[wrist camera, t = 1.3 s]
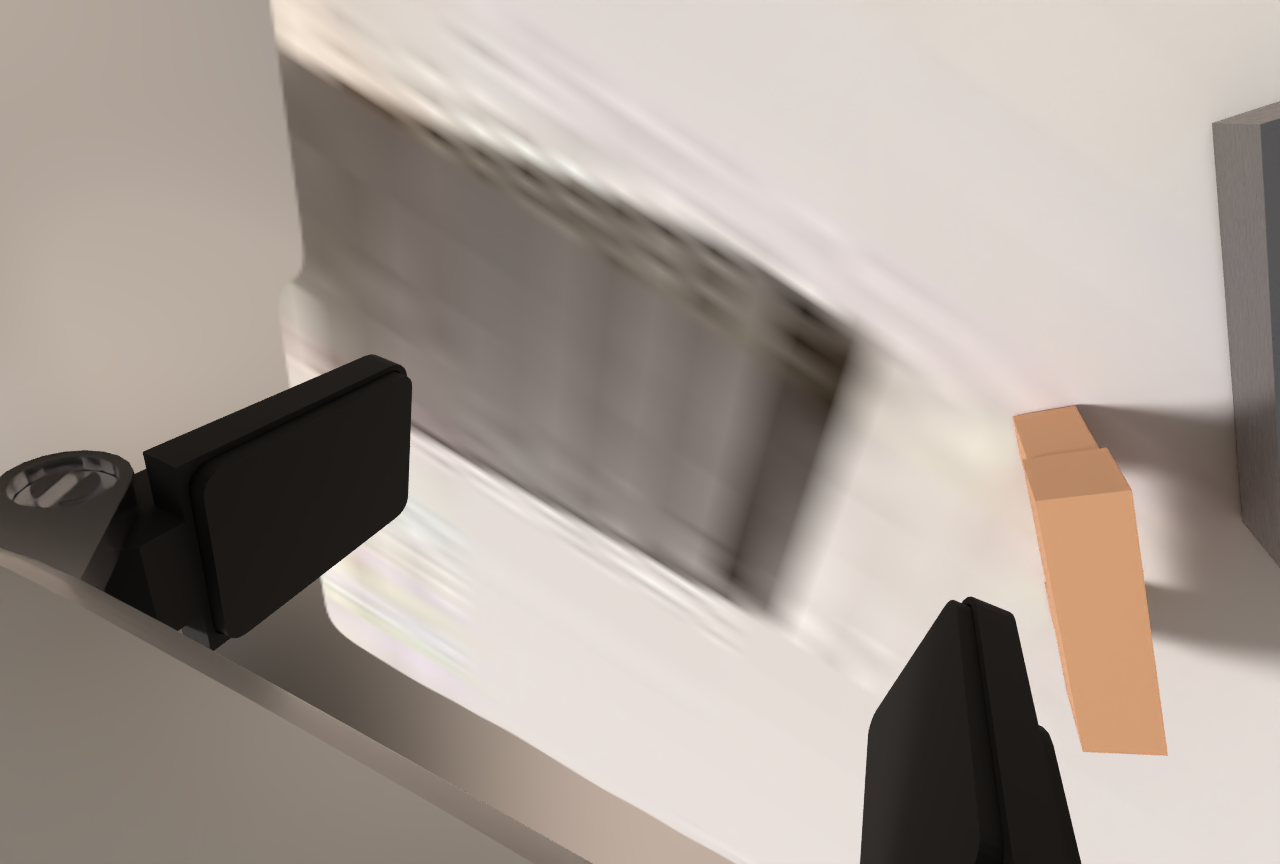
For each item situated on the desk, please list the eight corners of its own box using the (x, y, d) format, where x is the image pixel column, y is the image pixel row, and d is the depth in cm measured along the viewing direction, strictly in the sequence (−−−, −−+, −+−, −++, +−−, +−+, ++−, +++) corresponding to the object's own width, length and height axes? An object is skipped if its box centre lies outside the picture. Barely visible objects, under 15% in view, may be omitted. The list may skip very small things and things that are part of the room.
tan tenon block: (1079, 400, 30) (1131, 489, 23) (1114, 620, 34) (1167, 755, 27) (1007, 413, 31) (1035, 500, 24) (1048, 622, 35) (1082, 751, 28)
